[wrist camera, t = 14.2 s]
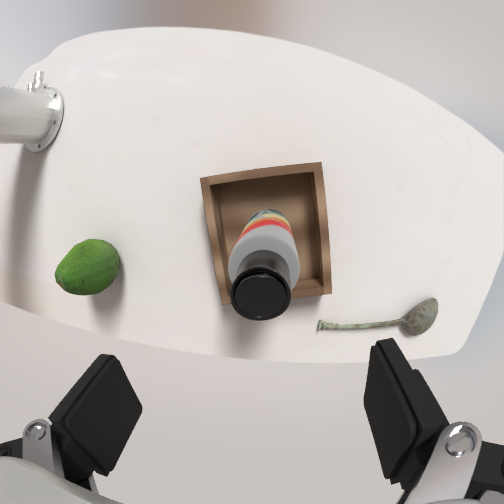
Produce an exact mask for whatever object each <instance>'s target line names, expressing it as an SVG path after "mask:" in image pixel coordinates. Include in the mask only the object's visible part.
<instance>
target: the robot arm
mask: <svg viewBox="0 0 504 504" xmlns="http://www.w3.org/2000/svg"><path fill="white" fill-rule="evenodd" d="M43 76H44V72H43V71H39V72H37V73H36V74H35V79H34V83H30V84H29V85H28V91H26V90H21V89H15V88H9V87H2V86H0V144H24V145H25V147H26V148H27V149H28V150H29V151H32V152H39V151H42V150H44V149H45V148H46V147H48V145H49V144H50V143H51V142H52V141H53V139H54V138H55V136H56V134H57V132H58V129H59V127H60V124H61V121H62V116H63V107H64V105H63V98H62V95H61V93H60V92H59V90H57V89H55V88H52V87H47V88H44V85H42V82H43ZM364 407H365V411H366V414H367V417H368V421H369V424H370V427H371V431H372V434H373V437H374V441H375V445H376V448H377V451H378V455H379V459H380V463H381V467H382V471H383V475H384V477H385V479H389V478H390V482H391V484H395V483H398V482H400V484H401V487H402V489H404V491H403V493H402V495H401V496H400V498H399V499H398V501H397V503H396V504H504V445H499V444H494V443H489V442H485V441H482V437H481V433H480V431H479V430H478V428H477V427H476V426H474V425H473V424H471V423H468V422H456V423H452V424H449V422H448V420H447V418H446V416H445V415H444V413H443V411H442V409H441V407H440V406H439V404H438V402H437V400H436V399H435V397H434V395H433V393H432V392H431V390H430V388H429V386H428V385H427V383H426V381H425V380H424V378H423V376H422V375H421V373H420V372H419V370H417V369H414V370H412V368H411V367H410V365H409V363H408V361H407V360H406V358H405V356H404V355H403V353H402V351H401V350H400V348H399V347H398V345H397V343H396V342H395V340H394V339H393V338H389V339H384V340H379V341H377V342H376V345H375V346H372V347H371V351H370V360H369V367H368V374H367V382H366V388H365V393H364ZM141 413H142V405H141V403H140V401H139V399H138V397H137V396H136V394H135V392H134V390H133V388H132V386H131V384H130V382H129V380H128V378H127V376H126V374H125V372H124V370H123V368H122V365H121V363H120V361H119V360H118V359H117V358H116V357H115V356H114V355H107V354H101V355H99V356H98V357H97V359H96V360H95V361H94V362H93V363H92V364H91V366H90V367H89V368H88V369H87V370H86V372H85V373H84V374H83V375H82V376H81V378H80V379H79V380H78V381H77V382H76V384H75V385H74V386H73V387H72V388H71V390H70V391H69V392H68V393H67V395H66V396H65V397H64V398H63V400H62V401H61V402H60V403H59V405H58V406H57V407H56V408H55V410H54V411H53V412H52V413H51V415H50V416H49V417H48V418H49V420H50V421H51V422H52V425H51V426H50V424H49V423H48V422H47V421H45V420H43V419H36V420H34V421H32V422H30V423H29V424H28V425H27V426H26V427H25V429H24V432H23V438H19V439H16V440H12V441H8V442H5V443H2V444H0V504H122V503H119V502H117V501H114V500H111V499H109V498H106V497H103V496H101V495H99V493H98V490H97V487H96V484H95V480H94V477H93V474H92V473H93V471H96V473H98V474H101V475H104V476H106V477H107V476H108V474H109V472H110V471H112V470H113V469H114V467H115V465H116V463H117V461H118V459H119V457H120V455H121V453H122V451H123V449H124V447H125V445H126V443H127V440H128V439H129V437H130V435H131V433H132V431H133V429H134V427H135V425H136V423H137V421H138V419H139V417H140V415H141Z"/></svg>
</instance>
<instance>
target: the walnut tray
mask: <svg viewBox="0 0 504 504" xmlns="http://www.w3.org/2000/svg"><path fill="white" fill-rule="evenodd" d="M200 182H201V189H202V195H203V201H204V208H205V214H206V220H207V226H208V231H209V237H210V243H211V248H212V254H213V259H214V265H215V270H216V275H217V281H218V286H219V291H220V296H221V301H222V304H232V303H231V299H230V291H231V286H232V283H231V280H230V277H229V273H228V263H229V258H230V255H231V253H232V251H233V249H234V247H235V245H236V243H237V241H238V239H239V237H240V235H241V234H242V232H243V230H244V228H245V226H246V224H247V222H248V221H249V219H250V218H251V217H252V216H253V215H254V214H255V213H256V212H258V211H260V210H263V209H273V210H276V211H279V212H280V213H282V214H283V215H284V216H285V217H286V219H287V220H288V222H289V225H290V228H291V231H292V235H293V239H294V242H295V246H296V250H297V254H298V258H299V264H300V273H299V277H298V281H297V283H296V285H295V286H294V288H293V289H292V290H291V298H299V297H308V296H317V295H325V294H332V282H331V261H330V244H329V230H328V218H327V207H326V197H325V188H324V179H323V171H322V163H321V162H316V163H305V164H295V165H286V166H277V167H269V168H261V169H254V170H247V171H240V172H233V173H227V174H221V175H215V176H209V177H203V178H200Z"/></svg>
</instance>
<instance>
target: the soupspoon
mask: <svg viewBox="0 0 504 504" xmlns="http://www.w3.org/2000/svg"><path fill="white" fill-rule="evenodd" d="M437 313H438V302H437V300H436V299H435V298H431V299H428V300H425V301H424V302H422V303H420V304H419V305H417V306H416V307H415V308H414V309H413V310H411V311H410V312H409V313H408V314H407V315H406V316H405V317H404V318H402V319H398V320H392V321H385V322H377V323H366V324H350V325H339V324H336V325H334V324H332V323H326V322H324V323H322V321H321V320H320V322H319V331H320V330H321V328H323V329H326V328H327V329H333V328H335V329H336V330H337V329H355V328H370V327H381V326H391V325H398V324H403V326H404V328H405V329H406V331H407V332H409V333H410V334H413V335H419V334H422V333H424V332H425V331H427V330H428V329H429V328H430V327H431V325H432V324H433V322H434V321H435V319H436V316H437Z"/></svg>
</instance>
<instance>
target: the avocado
mask: <svg viewBox="0 0 504 504" xmlns="http://www.w3.org/2000/svg"><path fill="white" fill-rule="evenodd" d="M118 269H119V256H118V252H117V250H116V249H115V248H114V246H113V245H112V244H110V243H108V242H106V241H104V240H97V239H88V240H86V241H83V242H81V243H79V244H77V245H75V246H74V247H73V248H72V249H71V251H70V252H69V253H68V254H67V255H66V256H65V258H64V259H63V260H62V261H61V262H60V264H59V265H58V266H57V269H56V272H55V278H56V282H57V283H58V284H59V285H60V286H61V287H62V288H63V289H64V290H65V291H67V292H69V293H71V294H76V295H92V294H97V293H100V292H102V291H103V290H105V289H106V288H107V287H108V286H110V285H111V284H112V282H113V280H114V278H115V277H116V275H117V272H118Z"/></svg>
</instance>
